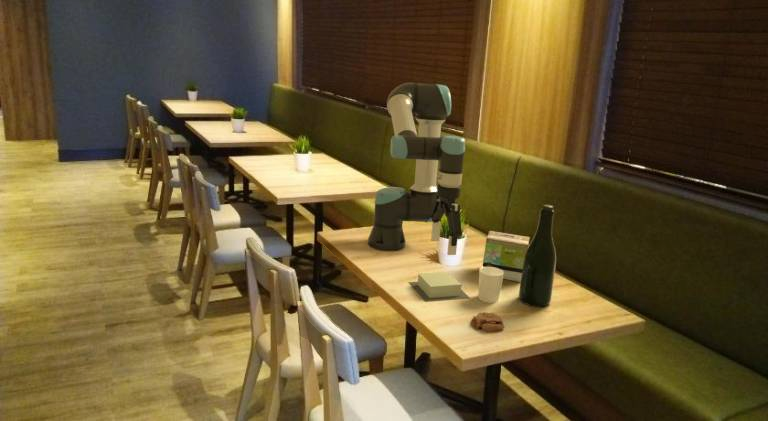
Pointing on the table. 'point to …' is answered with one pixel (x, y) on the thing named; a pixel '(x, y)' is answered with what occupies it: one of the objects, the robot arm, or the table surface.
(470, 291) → the table surface
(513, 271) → the tea box
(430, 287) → the lid
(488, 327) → the cookie
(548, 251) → the dark green wine bottle
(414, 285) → the mat
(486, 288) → the white cup
